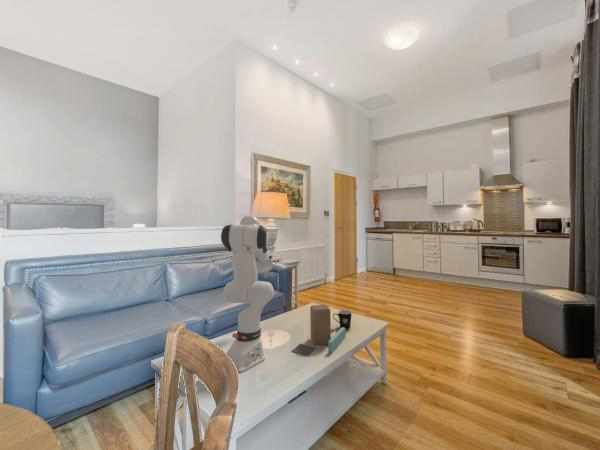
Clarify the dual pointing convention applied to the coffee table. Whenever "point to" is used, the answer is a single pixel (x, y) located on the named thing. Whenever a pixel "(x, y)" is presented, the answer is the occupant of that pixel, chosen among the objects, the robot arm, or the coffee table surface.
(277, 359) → the coffee table surface
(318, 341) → the block
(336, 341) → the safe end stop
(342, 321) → the coffee mug
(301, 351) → the mats
